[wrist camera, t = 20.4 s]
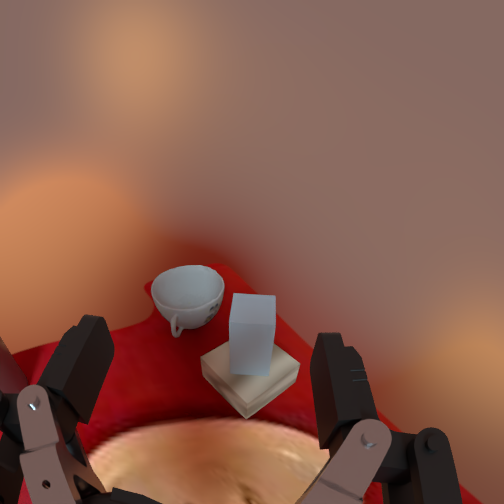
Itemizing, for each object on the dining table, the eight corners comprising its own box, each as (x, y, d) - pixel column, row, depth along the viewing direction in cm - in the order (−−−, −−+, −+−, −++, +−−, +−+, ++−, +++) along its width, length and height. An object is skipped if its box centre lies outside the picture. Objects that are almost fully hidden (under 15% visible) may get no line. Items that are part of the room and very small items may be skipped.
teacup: (170, 293, 60) (166, 259, 55) (230, 301, 58) (231, 267, 54) (142, 346, 47) (132, 311, 43) (213, 360, 45) (210, 325, 41)
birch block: (202, 376, 43) (200, 356, 40) (251, 347, 49) (252, 326, 46) (246, 420, 37) (247, 403, 34) (294, 382, 43) (300, 363, 40)
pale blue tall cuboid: (230, 373, 38) (229, 322, 33) (233, 345, 43) (233, 293, 37) (268, 376, 38) (275, 325, 33) (269, 347, 42) (275, 295, 37)
